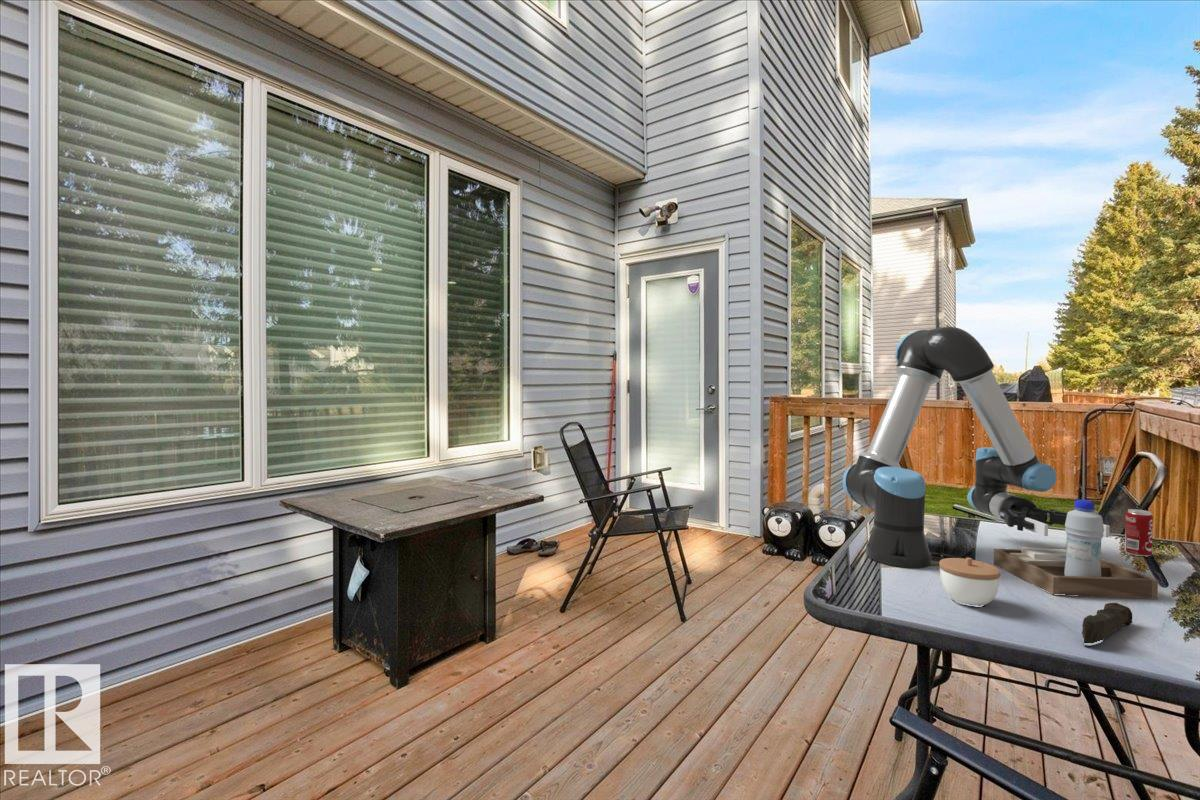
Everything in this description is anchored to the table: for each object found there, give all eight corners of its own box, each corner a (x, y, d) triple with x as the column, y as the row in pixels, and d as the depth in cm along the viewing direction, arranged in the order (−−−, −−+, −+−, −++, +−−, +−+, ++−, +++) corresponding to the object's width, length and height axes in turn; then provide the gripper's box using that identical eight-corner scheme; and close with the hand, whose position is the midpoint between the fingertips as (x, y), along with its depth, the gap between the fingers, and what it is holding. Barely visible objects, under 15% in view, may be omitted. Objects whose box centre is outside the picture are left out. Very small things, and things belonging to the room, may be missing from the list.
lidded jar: (998, 599, 116) (999, 556, 116) (1000, 617, 107) (1002, 570, 107) (939, 588, 122) (940, 547, 122) (937, 604, 113) (938, 560, 113)
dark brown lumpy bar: (1105, 619, 107) (1106, 595, 107) (1132, 626, 104) (1133, 602, 104) (1065, 642, 98) (1065, 617, 97) (1093, 652, 94) (1094, 625, 94)
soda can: (1139, 552, 148) (1141, 508, 148) (1157, 558, 143) (1159, 513, 143) (1119, 551, 149) (1120, 508, 149) (1136, 557, 144) (1137, 512, 143)
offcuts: (1006, 562, 137) (1007, 546, 137) (1079, 564, 135) (1079, 548, 135) (1026, 572, 130) (1026, 555, 130) (1102, 574, 128) (1103, 557, 128)
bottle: (1056, 583, 125) (1059, 498, 124) (1072, 579, 128) (1074, 495, 127) (1092, 594, 119) (1095, 504, 118) (1108, 589, 122) (1111, 501, 121)
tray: (993, 564, 138) (994, 548, 138) (1082, 566, 137) (1082, 551, 136) (1052, 595, 118) (1053, 577, 118) (1157, 598, 117) (1158, 580, 116)
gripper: (1061, 523, 147) (1132, 548, 126) (965, 522, 148) (1020, 545, 127) (1062, 496, 146) (1134, 516, 125) (966, 495, 148) (1021, 514, 127)
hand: (1077, 531), depth 126 cm, fingers open, 13 cm apart
